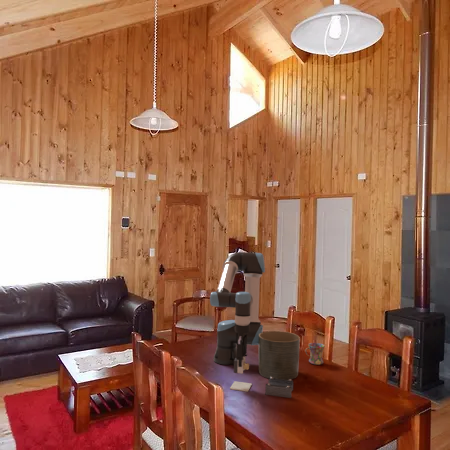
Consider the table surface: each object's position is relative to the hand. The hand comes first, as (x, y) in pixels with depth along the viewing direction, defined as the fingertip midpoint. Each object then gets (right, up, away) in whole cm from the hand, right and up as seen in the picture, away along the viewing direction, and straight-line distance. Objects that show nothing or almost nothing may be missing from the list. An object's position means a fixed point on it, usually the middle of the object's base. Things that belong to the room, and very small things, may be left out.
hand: (241, 371), depth 194 cm
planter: (+21, -9, +20) cm, 30 cm away
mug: (+44, -9, +38) cm, 59 cm away
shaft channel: (+18, -8, -5) cm, 21 cm away
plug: (0, 0, 0) cm, 0 cm away
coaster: (0, -8, 0) cm, 8 cm away
